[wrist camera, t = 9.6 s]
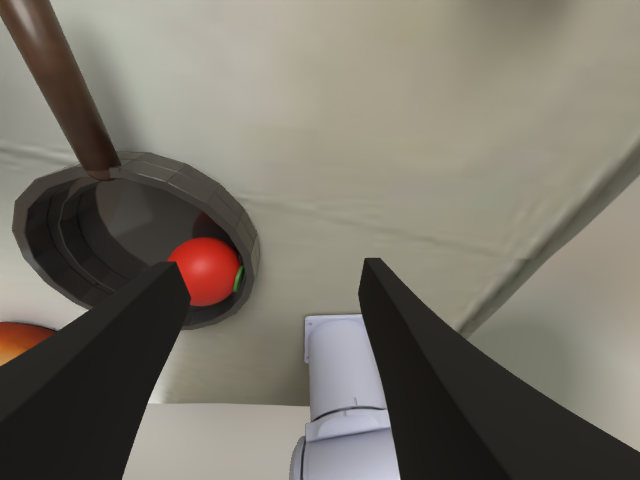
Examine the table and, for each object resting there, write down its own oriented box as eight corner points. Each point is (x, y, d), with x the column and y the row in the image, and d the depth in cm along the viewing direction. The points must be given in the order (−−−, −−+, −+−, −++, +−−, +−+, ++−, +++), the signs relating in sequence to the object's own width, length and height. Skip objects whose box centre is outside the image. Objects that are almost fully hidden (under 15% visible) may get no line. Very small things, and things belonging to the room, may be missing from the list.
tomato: (190, 258, 20) (248, 272, 21) (156, 310, 17) (228, 325, 17) (182, 215, 17) (253, 233, 18) (138, 268, 13) (228, 289, 14)
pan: (266, 297, 24) (262, 327, 21) (116, 300, 22) (90, 333, 20) (248, 152, 16) (236, 170, 13) (11, 145, 14) (-61, 164, 11)
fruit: (-32, 363, 24) (-143, 434, 17) (11, 295, 25) (-79, 335, 17) (64, 381, 27) (6, 446, 20) (100, 320, 28) (56, 363, 21)
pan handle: (133, 175, 14) (116, 186, 12) (104, 175, 14) (83, 185, 12) (19, -93, 8) (-34, -125, 7) (-32, -98, 8) (-96, -132, 7)
